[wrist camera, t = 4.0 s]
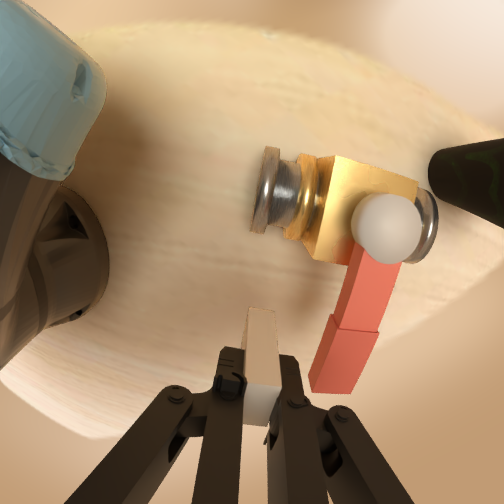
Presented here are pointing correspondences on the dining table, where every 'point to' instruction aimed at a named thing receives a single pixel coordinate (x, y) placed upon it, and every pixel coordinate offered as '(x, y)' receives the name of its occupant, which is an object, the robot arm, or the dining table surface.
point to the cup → (471, 178)
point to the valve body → (330, 202)
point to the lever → (365, 289)
